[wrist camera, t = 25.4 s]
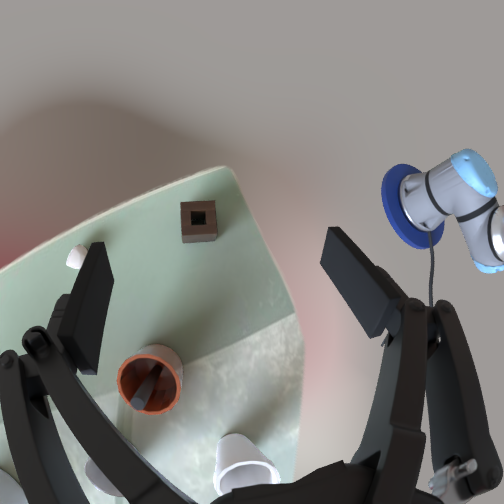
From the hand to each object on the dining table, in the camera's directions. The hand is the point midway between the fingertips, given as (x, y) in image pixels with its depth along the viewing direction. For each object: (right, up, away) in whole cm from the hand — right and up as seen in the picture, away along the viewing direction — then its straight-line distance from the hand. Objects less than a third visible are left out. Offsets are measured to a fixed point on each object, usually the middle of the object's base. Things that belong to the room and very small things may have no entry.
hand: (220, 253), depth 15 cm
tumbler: (-14, -19, +26) cm, 35 cm away
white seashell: (-29, -1, +26) cm, 39 cm away
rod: (-14, -19, +25) cm, 35 cm away
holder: (-8, +4, +32) cm, 33 cm away
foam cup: (-1, -35, +25) cm, 43 cm away
